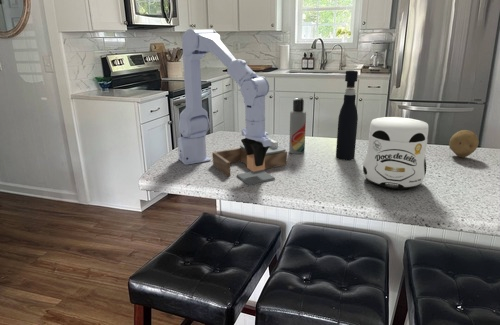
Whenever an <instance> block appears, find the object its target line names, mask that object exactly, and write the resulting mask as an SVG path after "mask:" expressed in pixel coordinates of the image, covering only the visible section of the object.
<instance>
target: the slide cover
mask: <svg viewBox="0 0 500 325" xmlns="http://www.w3.org/2000/svg"><path fill="white" fill-rule="evenodd" d="M268 138H269V137H268ZM269 139H271V146H270V147H269V148H268V150H267V152H266V155H268V154H273V153H279V152H285V151H286V149H285V148H283V147H281V146H279V144H278V143H279V142H278V141H276V140H274V139H272V138H269ZM239 148H243V149H245V147H244V145H243V144H240V145H239ZM286 152H287V151H286Z"/></svg>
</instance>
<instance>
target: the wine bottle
mask: <svg viewBox="0 0 500 325" xmlns="http://www.w3.org/2000/svg"><path fill="white" fill-rule="evenodd" d="M358 72H359V71H357V70H346V71H345V77H344V79H345V80H344V82H346V88H345V93H344V95H343V104H342V106H341V108H340V110H339V115H338V118H337V119H338V121H337V135H336V136H337V137H336V150H335V158H336V159H338V160H341V161H353V160H354V159H355V156H356V145H357V144H356V142H357V131H358V121H359V114H358V109H357V106H356V98H357V97H356V96H357V95H356V88H355V87H356V86H355V84H356V82H358V75H359V74H358Z"/></svg>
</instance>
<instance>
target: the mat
mask: <svg viewBox="0 0 500 325" xmlns="http://www.w3.org/2000/svg"><path fill="white" fill-rule="evenodd" d="M236 177H237V178H238V179H240V180H241V181H242V182H244V183H245V184H247V185H248V186H251V185H255V184H261V183H265V182H269V181H274V180H275V179H276V178H275V177H274V176H273V175H271V174H269V173H268V172H266V171H265V170H259V171H254V172H253V171H249V172H243V173H238V174H236Z"/></svg>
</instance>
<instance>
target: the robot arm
mask: <svg viewBox="0 0 500 325" xmlns="http://www.w3.org/2000/svg"><path fill="white" fill-rule="evenodd" d="M181 42H182V58H183V59H182V62H183V63H182V64H183V81H184V95H185V108H183V109H182V111H181V112H180V113H179V121H178V130H179V133H180V134H181V135H182V136H181V137H178V138H177V150H178V151H177V152H178V158H177V159H178V160H180V162H182V164H183V165H184V166H187V165H193V164H194V165H195V164H199V163H204V162H209V161H212V159H211V158H210V157H209V156H207V155H208V154H207V140H206V135H207V134H208V131H209V130H210V127H211V122H210V119H209V116H208V115H209V114H208V111H207V110H206V109H205V108H203V98H202V76H201V75H202V73H201V59H202V58H203V57H204V56H205V55H206V54H208V53H211V54H212V55H214V56H215V57H216V58H217V59H218V60H219V61H220V62H221V63H222V64H223V65H224V66H226V68H227V71H226V72H227V74H228V75H229V76H230V77H231V79H232V80H233V81H234V82H235V83H236V84H237V85H238V86H239V87H240V88H239V90H240V94H241V95H242V97H243V103H244V105H245V106H244V107H245V109H244V110H245V112H244V114H245V115H244V116H245V128H241V136H243V137H245V138H242V139H240V140H241V143H242V145H244V147H245V150H246V153H247V155H252V154H254V159H255V165H256V166H262V165H263V162H264V158H265V155H266V152H267V150H268V148H269V147H270V146H271V139H272V138H270V139H269V137H268V136H269V132H267V131H266V96H267V95H268V94H269V92H270V84H269V81H268V80H267V78H266V77H265V76H262V75H261V76H260V75H258V74H257V73H256V72H255V71H253V69H252V68H251V67H250V66H248V64H247V61H246V60H244V59H241V58H238V59H236V57H235V56H234V55H233V54H232V53H231V51H230V49H228V47H227V46H226V45H225V44H224V43H223V41H222V40H221V35H220V34H219V33H218V32H217V31H216V30H215V29H213V28H206V29H201V28H200V29H198V28H197V29H195V28H194V29H193V28H189V29H186V31H185V32H184V33H183V34H182V35H181Z"/></svg>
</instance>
